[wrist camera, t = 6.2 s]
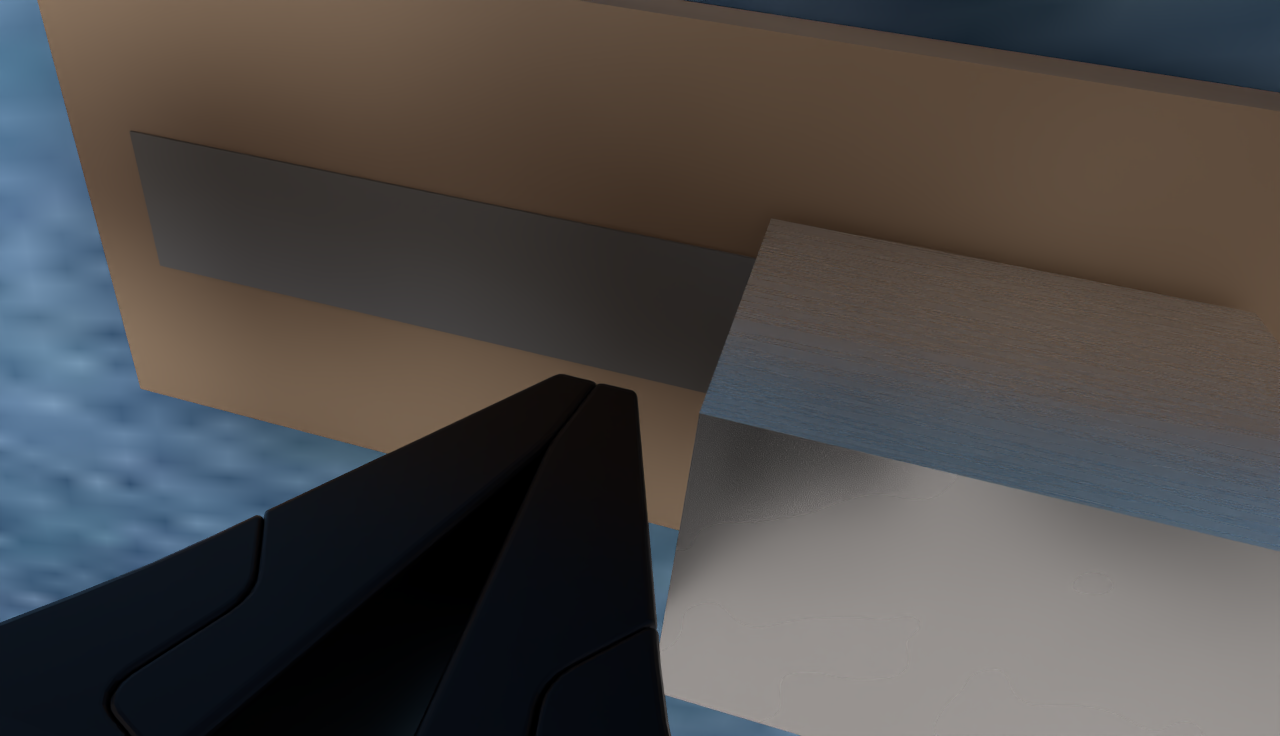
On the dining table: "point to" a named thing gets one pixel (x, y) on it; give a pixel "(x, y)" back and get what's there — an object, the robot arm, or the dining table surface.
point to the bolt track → (595, 191)
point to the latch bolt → (979, 504)
